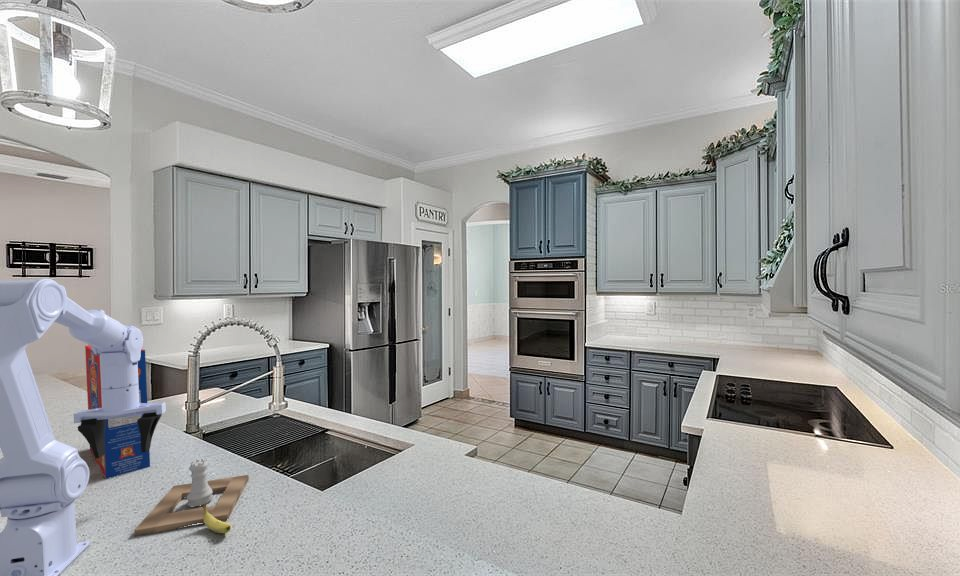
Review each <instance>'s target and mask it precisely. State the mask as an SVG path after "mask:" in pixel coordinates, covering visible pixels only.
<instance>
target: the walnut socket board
mask: <svg viewBox="0 0 960 576" xmlns="http://www.w3.org/2000/svg"><path fill="white" fill-rule="evenodd" d="M249 480H250V479H249V474H246V475H238V476H231V477H224V478H219V479H218V478H217V479H212V480H207V482H208V485H209V486H210V488H211V489H212V491H213V493H212V495H213V494H217V493H222V495H221V496H220V498H219V500H218V501H217V503H216V504H215V505H209V506H206V508H207V511H208V513H209V514H211V515H212V516H213V517H214V518H216V519H217V520H224V521H228V520H229V519H230V516H231V515H230V514H232V512H233V511H234V508H235V507H236V505H237V503H238V501H239V499H240V497H241V496H242V493H243V491H244V489H245V487H246V485H247V483H248V482H249ZM191 485H192V482H191V483H185V484H183V483H182V484H177V485H173V486H172V487H171V488H170V489H169V491H167V493H166V494H165V495H164V496H163V497H162V499H161V500H160V501H159V502H158V503H157V504H156V505H155V506H154V507H153V508H152V510H151V511H150V512H149V513H148V515H146V516H145V518H143V520H142V521H141V522H140V523H139V524H138V526H137V527H136V528H135V529H134V536H135V537H138V536H137V535H139V536H143V534H144V535H149V534H155V533H156V534H157V533H161V531H162V532H166V531H172V529H173V530H177V529H176V528H179V529H181V528H180V527H184V526H188V525H192V524H197V523H204V520H203V519H204V509H203V507H196V508H191V509H186V510H180V511H174V510H175V509H176V507H177V506H178V505H179V504H180V502H181V501H182V500H183V499H185V498H184V497H187V496H188V495H189V492H190V490H191ZM181 499H182V500H181ZM227 519H228V520H227ZM184 528H185V527H184Z"/></svg>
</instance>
